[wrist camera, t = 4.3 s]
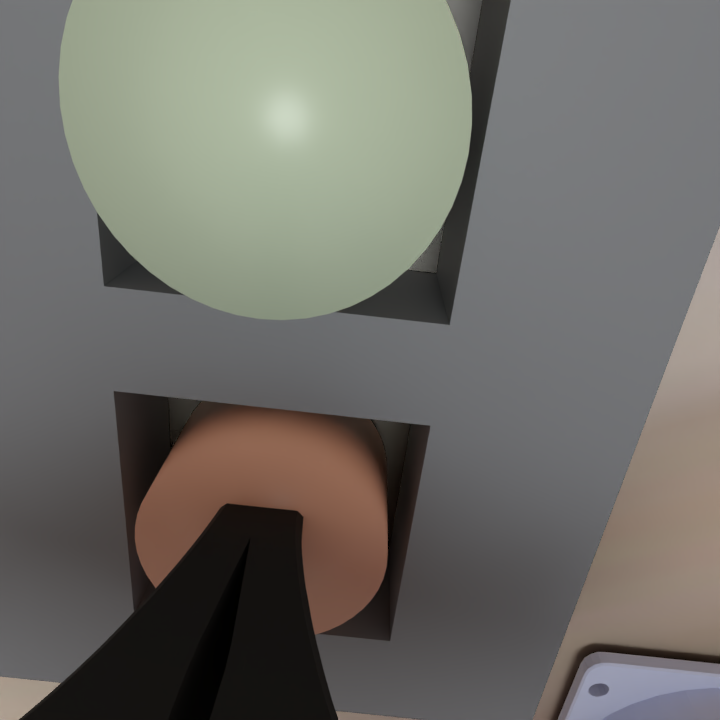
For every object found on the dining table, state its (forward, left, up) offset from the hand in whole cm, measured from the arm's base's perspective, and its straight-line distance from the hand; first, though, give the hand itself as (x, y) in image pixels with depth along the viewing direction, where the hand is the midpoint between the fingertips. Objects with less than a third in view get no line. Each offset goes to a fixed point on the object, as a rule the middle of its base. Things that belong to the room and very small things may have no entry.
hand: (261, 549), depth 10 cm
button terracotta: (0, 0, -2) cm, 2 cm away
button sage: (+7, 0, -2) cm, 7 cm away
